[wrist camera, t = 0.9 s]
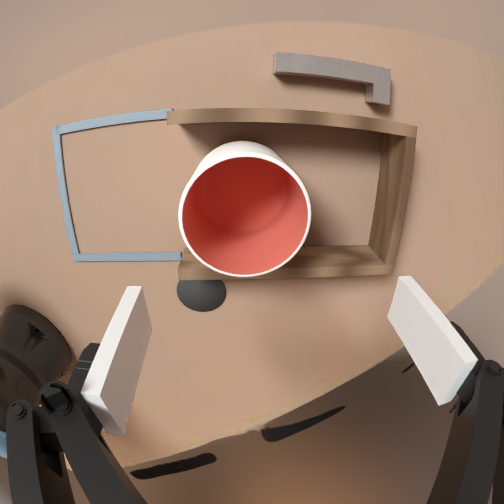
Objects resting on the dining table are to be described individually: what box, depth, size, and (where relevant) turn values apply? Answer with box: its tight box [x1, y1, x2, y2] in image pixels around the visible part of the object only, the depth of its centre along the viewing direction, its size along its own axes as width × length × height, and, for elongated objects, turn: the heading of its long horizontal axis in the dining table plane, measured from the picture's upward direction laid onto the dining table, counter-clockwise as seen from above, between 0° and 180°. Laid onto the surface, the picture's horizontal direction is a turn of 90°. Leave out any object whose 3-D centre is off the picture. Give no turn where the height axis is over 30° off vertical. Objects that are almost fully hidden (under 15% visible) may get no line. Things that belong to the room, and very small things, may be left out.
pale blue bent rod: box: [52, 109, 181, 261], centre depth 30 cm, size 14×17×1 cm
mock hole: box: [177, 280, 225, 312], centre depth 36 cm, size 6×6×1 cm
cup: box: [178, 141, 311, 277], centre depth 27 cm, size 10×10×10 cm
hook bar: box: [273, 52, 391, 105], centre depth 25 cm, size 12×4×2 cm, turn 89°
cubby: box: [167, 108, 417, 280], centre depth 29 cm, size 23×16×5 cm
